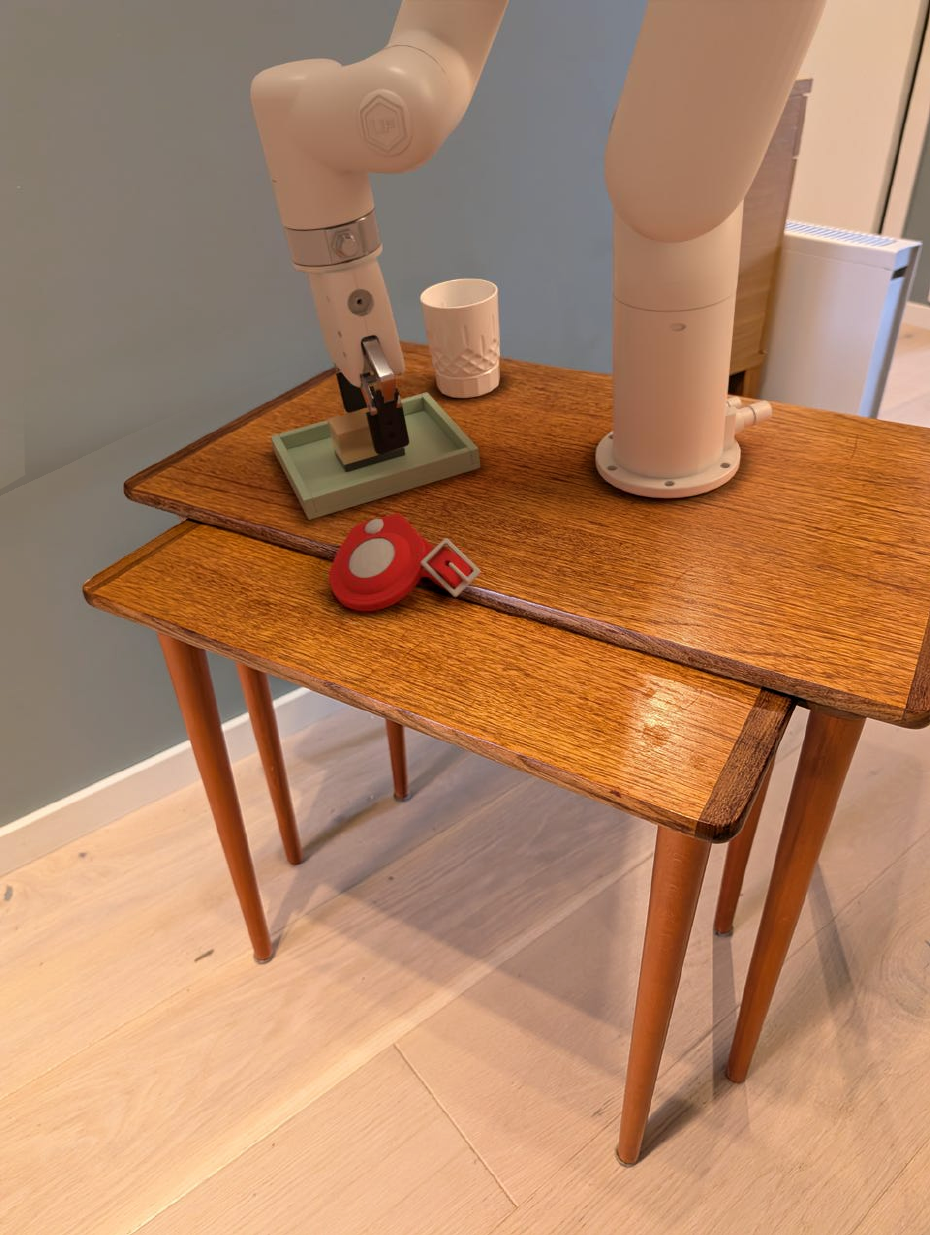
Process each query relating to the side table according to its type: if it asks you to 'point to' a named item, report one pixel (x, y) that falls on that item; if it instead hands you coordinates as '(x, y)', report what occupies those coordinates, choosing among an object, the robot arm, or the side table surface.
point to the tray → (426, 460)
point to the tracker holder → (393, 564)
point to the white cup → (463, 336)
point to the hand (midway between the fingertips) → (376, 427)
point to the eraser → (356, 441)
